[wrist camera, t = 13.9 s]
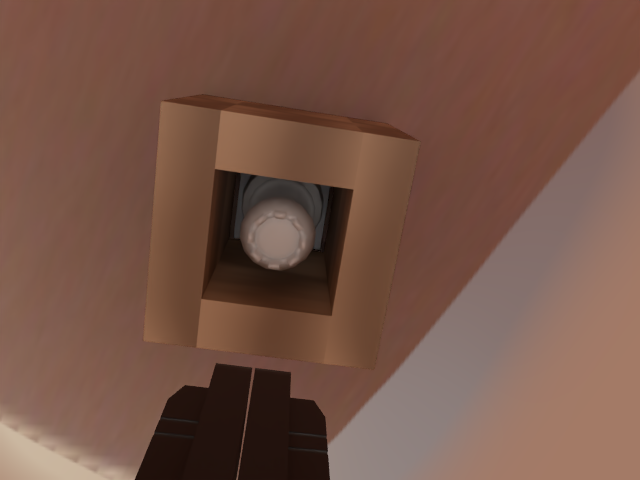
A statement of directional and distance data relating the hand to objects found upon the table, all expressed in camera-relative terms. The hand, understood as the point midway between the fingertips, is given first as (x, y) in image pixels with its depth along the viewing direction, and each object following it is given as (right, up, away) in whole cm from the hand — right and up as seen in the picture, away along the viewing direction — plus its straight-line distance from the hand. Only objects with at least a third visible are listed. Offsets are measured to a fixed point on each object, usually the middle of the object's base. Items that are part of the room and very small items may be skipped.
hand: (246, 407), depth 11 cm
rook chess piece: (-1, +6, +20) cm, 21 cm away
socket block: (-1, +6, +20) cm, 21 cm away
